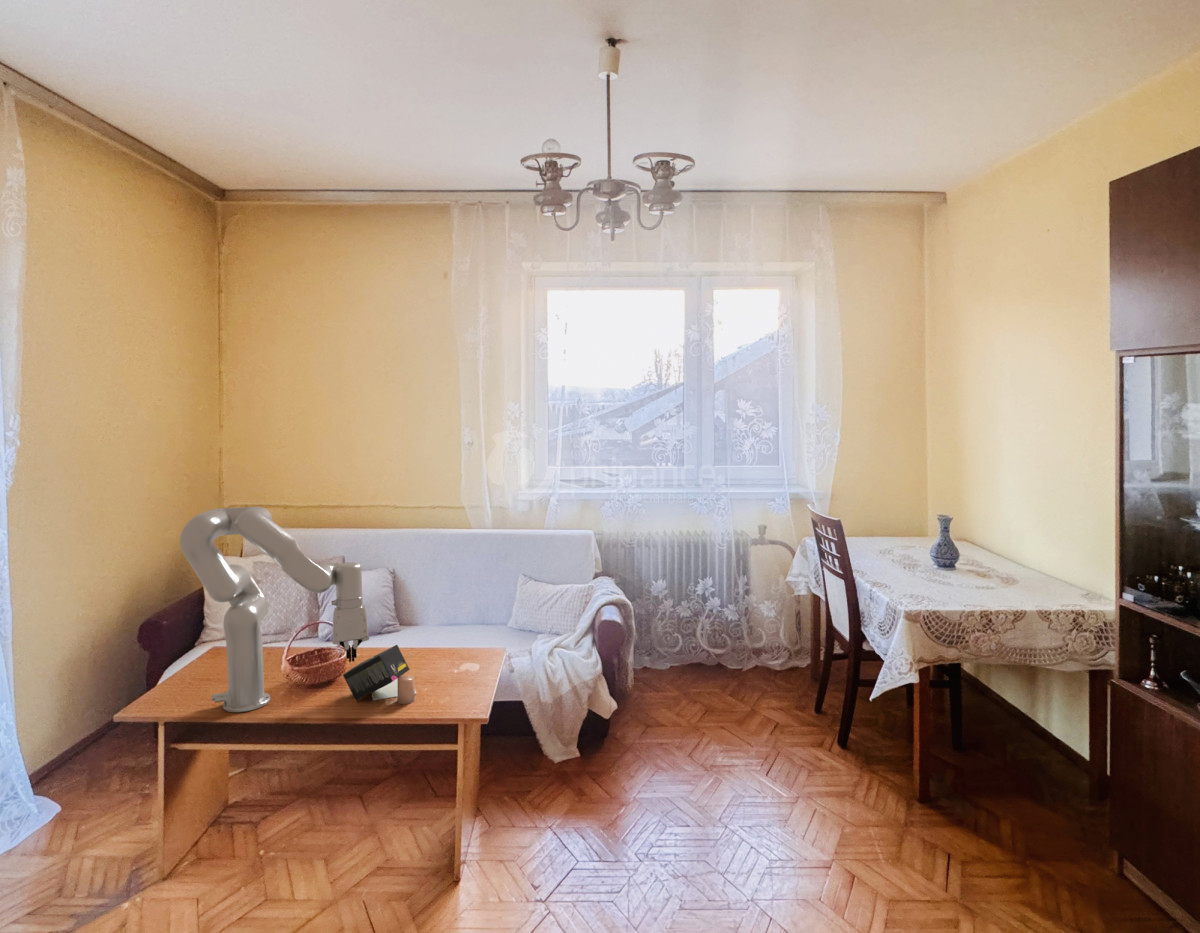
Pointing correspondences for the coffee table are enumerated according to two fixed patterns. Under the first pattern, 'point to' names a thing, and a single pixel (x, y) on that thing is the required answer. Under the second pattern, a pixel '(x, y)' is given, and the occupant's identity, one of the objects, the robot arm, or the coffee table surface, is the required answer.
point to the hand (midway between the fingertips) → (351, 660)
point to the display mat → (387, 691)
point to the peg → (406, 689)
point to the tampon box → (376, 672)
